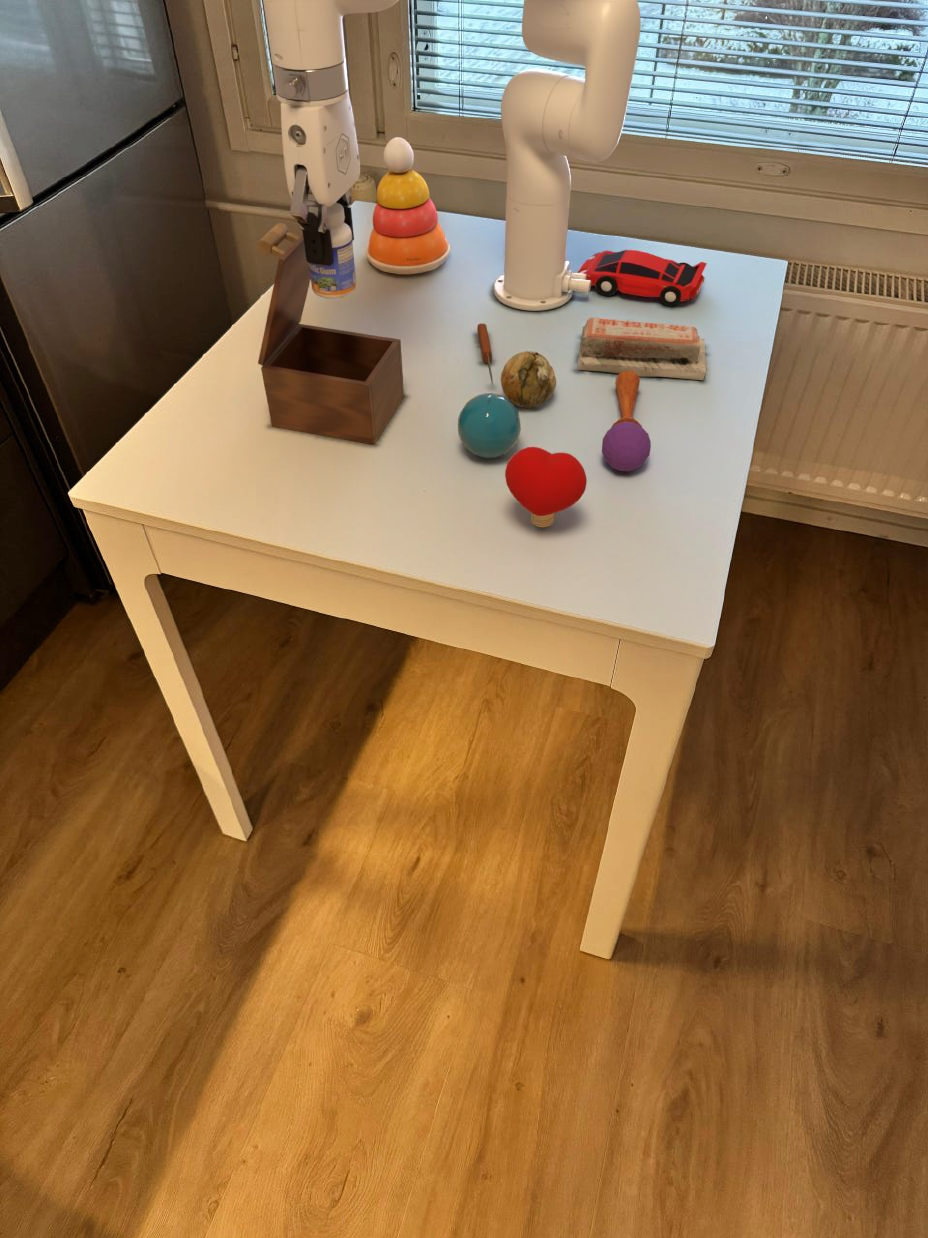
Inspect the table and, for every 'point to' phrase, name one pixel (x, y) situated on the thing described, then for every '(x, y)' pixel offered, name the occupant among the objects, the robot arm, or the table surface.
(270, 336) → the lid
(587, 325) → the packaged product
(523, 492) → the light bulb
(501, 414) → the ball
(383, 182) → the stacking toy
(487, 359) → the brown screwdriver
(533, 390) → the cracked brown sphere
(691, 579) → the table surface
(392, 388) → the chest
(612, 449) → the purple maraca
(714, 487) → the table surface
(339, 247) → the pill bottle
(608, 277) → the toy car
